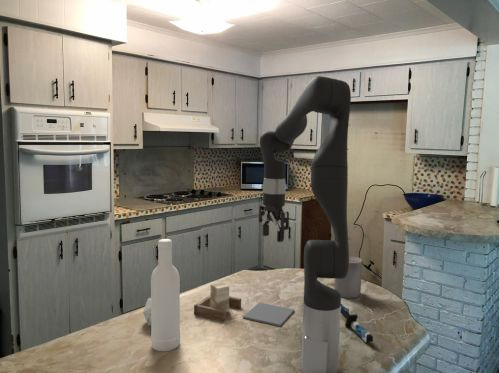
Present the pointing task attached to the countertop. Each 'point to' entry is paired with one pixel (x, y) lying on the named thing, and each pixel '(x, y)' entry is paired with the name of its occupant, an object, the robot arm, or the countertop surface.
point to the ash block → (220, 296)
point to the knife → (355, 325)
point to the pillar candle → (350, 279)
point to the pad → (269, 314)
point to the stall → (206, 311)
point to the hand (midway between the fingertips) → (272, 238)
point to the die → (148, 311)
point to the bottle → (165, 301)
